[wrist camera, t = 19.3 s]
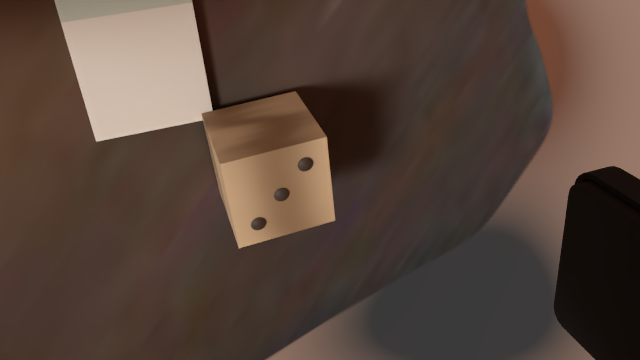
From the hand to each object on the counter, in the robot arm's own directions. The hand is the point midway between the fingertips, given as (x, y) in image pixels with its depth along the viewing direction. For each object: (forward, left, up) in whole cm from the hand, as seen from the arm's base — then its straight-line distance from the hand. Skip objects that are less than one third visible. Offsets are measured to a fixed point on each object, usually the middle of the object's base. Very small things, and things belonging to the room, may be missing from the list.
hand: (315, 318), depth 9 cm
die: (+4, -10, -28) cm, 30 cm away
